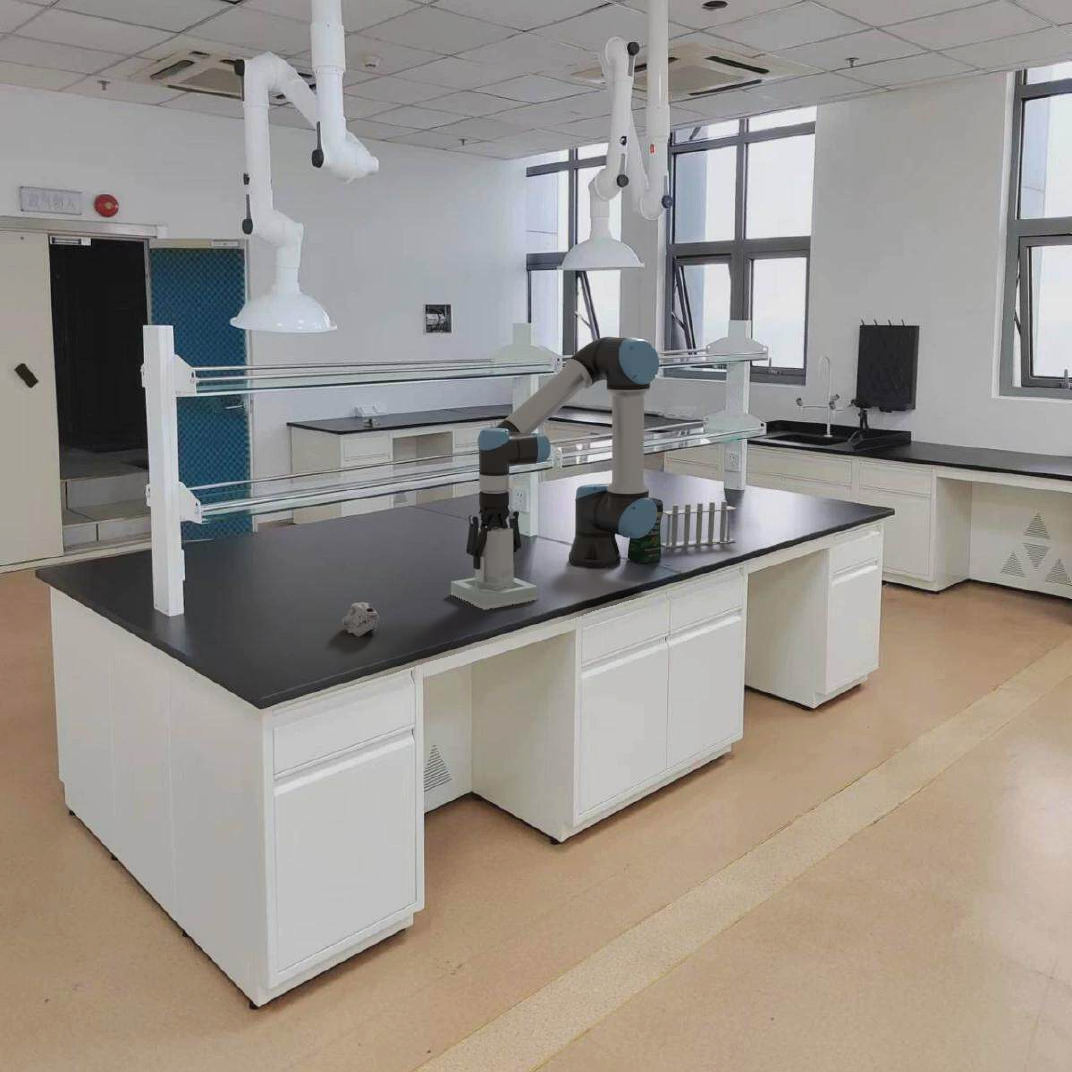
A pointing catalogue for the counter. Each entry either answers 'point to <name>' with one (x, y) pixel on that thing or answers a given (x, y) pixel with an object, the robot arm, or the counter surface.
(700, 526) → the test tube rack
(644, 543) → the coffee jar
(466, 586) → the square shallow tray
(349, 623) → the skull
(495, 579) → the skincare box
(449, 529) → the counter surface
